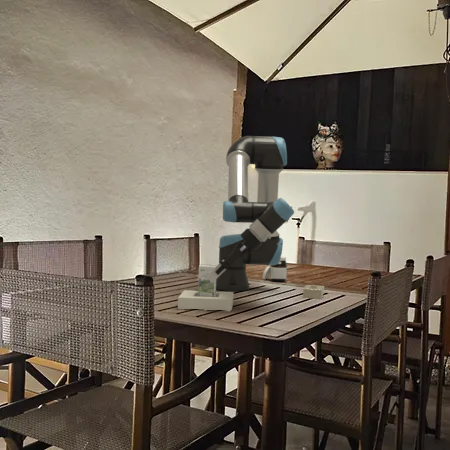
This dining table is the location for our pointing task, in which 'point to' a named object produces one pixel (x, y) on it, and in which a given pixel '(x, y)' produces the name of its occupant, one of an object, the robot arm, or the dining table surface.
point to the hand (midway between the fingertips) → (211, 277)
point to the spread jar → (276, 271)
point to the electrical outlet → (313, 291)
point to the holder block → (205, 301)
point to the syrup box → (206, 281)
